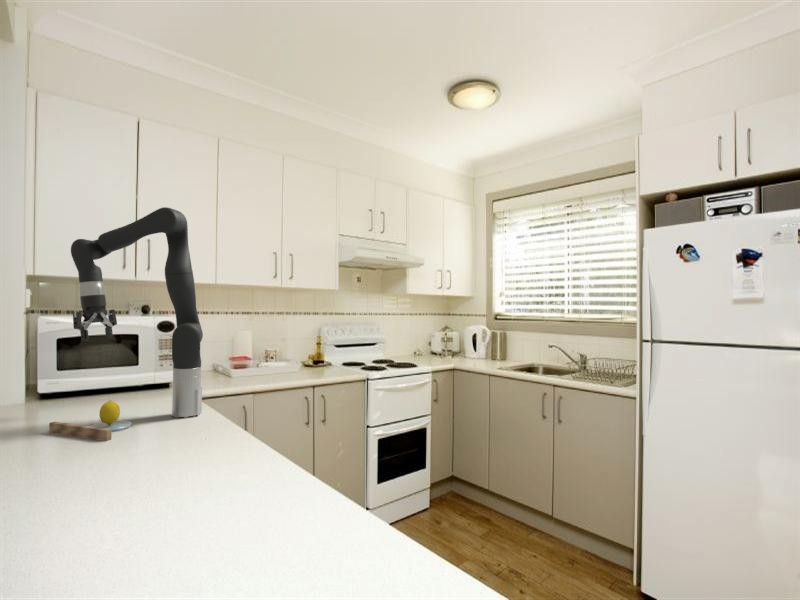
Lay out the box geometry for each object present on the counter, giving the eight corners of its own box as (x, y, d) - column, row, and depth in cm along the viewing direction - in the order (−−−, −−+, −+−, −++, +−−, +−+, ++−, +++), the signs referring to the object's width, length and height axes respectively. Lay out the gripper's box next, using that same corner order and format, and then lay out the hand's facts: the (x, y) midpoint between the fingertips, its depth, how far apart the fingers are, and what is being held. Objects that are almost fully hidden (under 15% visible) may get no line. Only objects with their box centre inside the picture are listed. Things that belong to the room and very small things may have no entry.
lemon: (109, 428, 140) (110, 402, 140) (94, 426, 141) (95, 401, 141) (123, 423, 146) (124, 399, 146) (109, 422, 147) (109, 398, 147)
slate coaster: (137, 422, 150) (137, 420, 150) (122, 432, 139) (122, 429, 139) (97, 423, 148) (97, 421, 148) (79, 433, 136) (79, 431, 136)
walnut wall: (49, 432, 137) (49, 422, 137) (54, 431, 139) (54, 421, 139) (106, 440, 130) (106, 430, 130) (111, 439, 131) (111, 429, 131)
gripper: (79, 294, 153) (84, 341, 153) (118, 293, 167) (123, 336, 167) (65, 296, 156) (70, 342, 156) (104, 295, 169) (109, 337, 169)
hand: (97, 339), depth 161 cm, fingers open, 8 cm apart
